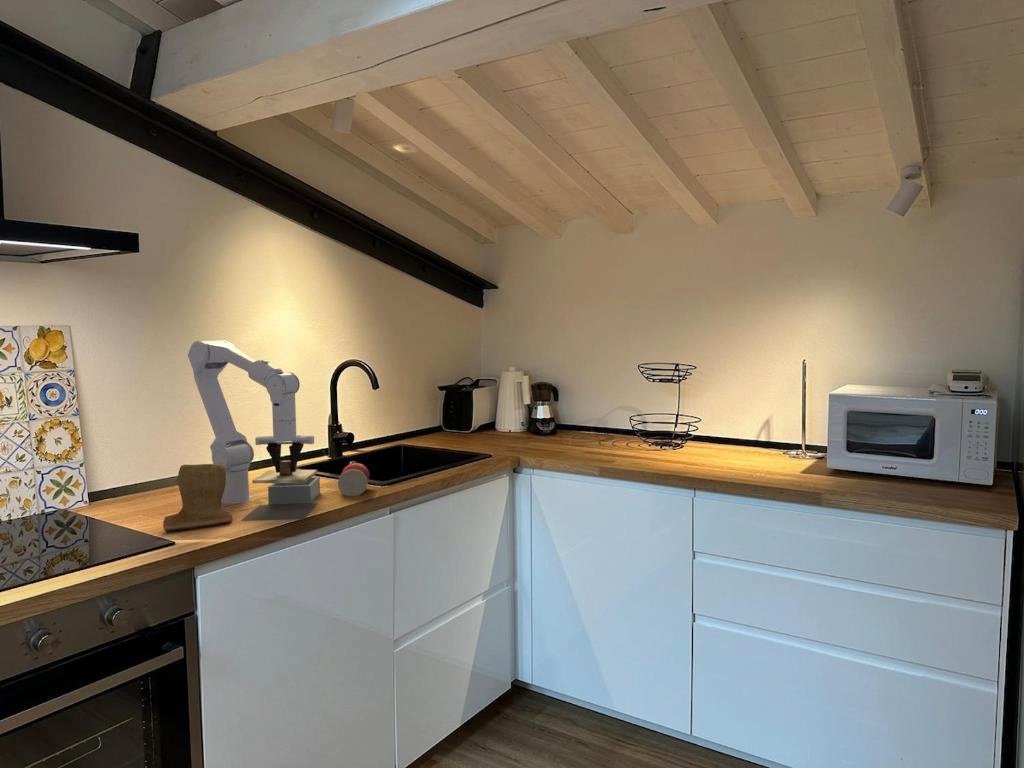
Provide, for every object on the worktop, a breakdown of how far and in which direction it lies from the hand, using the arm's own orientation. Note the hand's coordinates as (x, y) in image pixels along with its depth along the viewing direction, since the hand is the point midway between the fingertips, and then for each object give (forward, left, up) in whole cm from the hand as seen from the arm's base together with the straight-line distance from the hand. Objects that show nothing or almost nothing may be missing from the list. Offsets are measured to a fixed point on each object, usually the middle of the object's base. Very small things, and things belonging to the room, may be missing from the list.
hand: (286, 471), depth 178 cm
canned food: (+14, +20, -6) cm, 25 cm away
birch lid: (0, 0, -2) cm, 2 cm away
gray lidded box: (0, +8, -9) cm, 12 cm away
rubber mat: (0, -6, -9) cm, 11 cm away
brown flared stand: (-17, -15, -10) cm, 25 cm away
